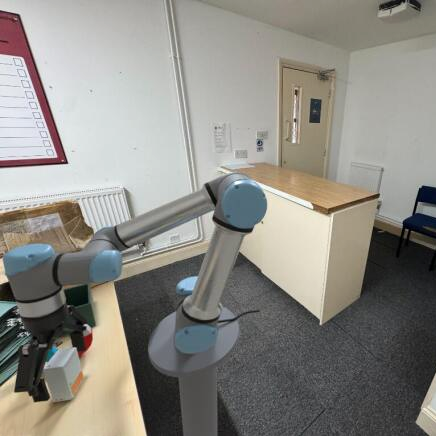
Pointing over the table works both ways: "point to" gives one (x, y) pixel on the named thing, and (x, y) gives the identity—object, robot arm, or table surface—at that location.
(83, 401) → the table surface
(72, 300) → the bin
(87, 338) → the magnet
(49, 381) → the cosmetic box
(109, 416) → the table surface
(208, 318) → the robot arm
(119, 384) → the table surface
